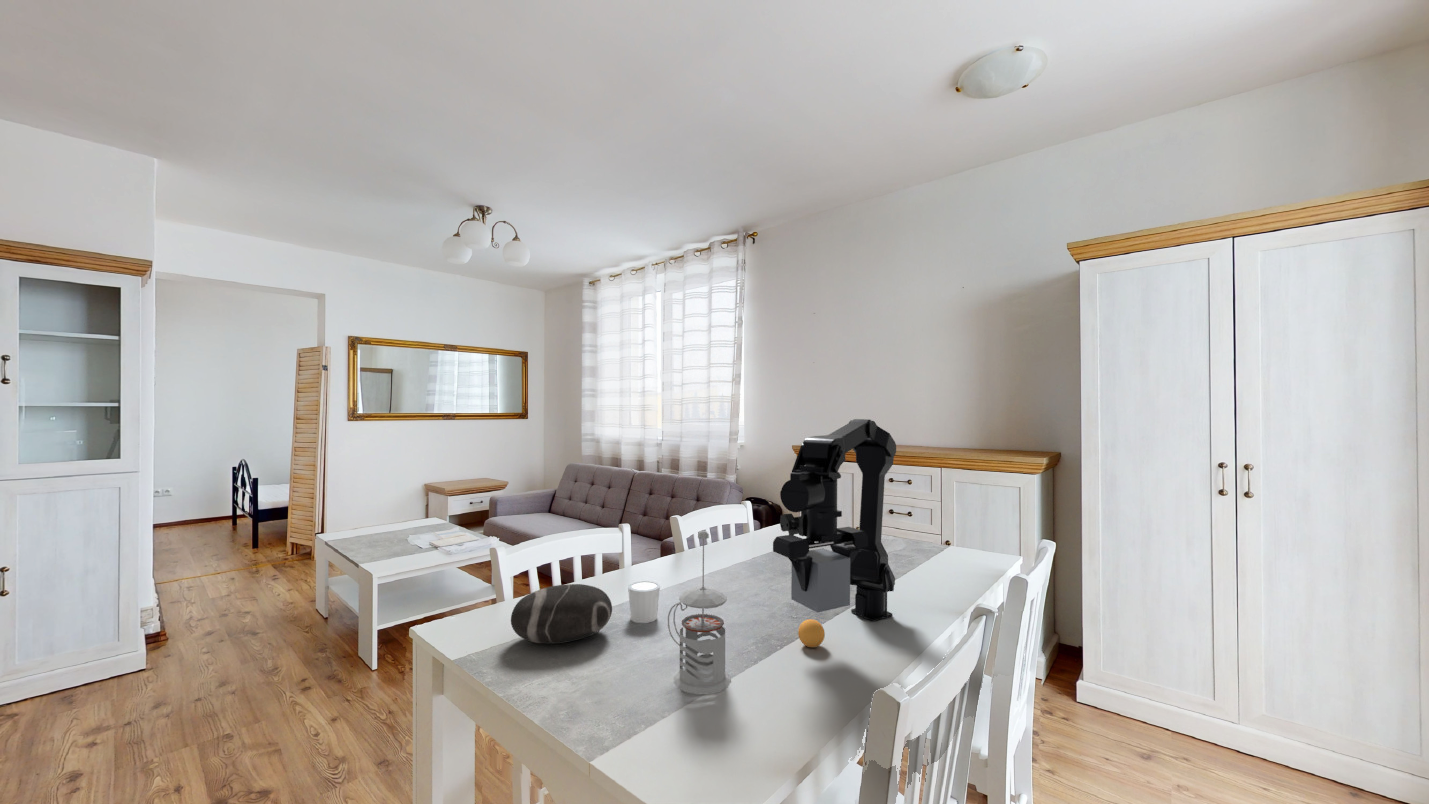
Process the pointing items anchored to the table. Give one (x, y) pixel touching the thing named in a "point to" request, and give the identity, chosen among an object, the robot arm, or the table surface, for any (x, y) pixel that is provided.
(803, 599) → the grey matte cube
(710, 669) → the french press
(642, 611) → the white tapered cup
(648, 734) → the table surface
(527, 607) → the decorative stone
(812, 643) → the ball
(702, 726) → the table surface
